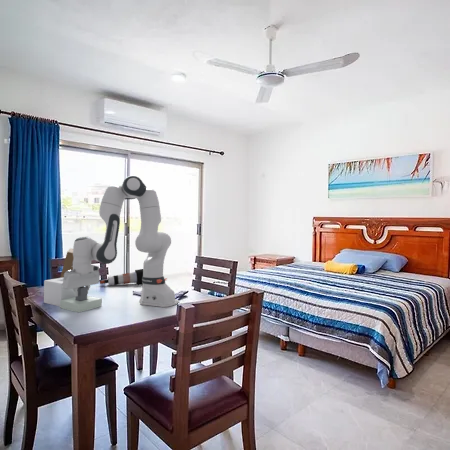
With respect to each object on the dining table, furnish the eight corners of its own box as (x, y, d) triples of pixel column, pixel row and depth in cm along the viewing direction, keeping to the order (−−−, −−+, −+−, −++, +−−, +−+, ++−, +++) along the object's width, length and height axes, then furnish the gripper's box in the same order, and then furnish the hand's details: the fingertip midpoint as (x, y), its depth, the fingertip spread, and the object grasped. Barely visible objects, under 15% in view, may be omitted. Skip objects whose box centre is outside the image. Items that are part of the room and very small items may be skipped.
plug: (87, 302, 176) (87, 283, 176) (80, 304, 172) (81, 284, 172) (81, 301, 178) (82, 282, 177) (75, 303, 174) (75, 283, 174)
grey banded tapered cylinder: (100, 291, 230) (99, 277, 234) (150, 283, 243) (148, 270, 247) (100, 287, 221) (99, 272, 225) (152, 279, 234) (150, 265, 238)
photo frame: (56, 293, 203) (56, 251, 202) (59, 286, 223) (60, 248, 223) (82, 292, 208) (83, 251, 207) (84, 285, 228) (85, 248, 228)
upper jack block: (83, 301, 187) (84, 279, 187) (61, 306, 175) (61, 283, 174) (66, 297, 194) (67, 276, 193) (43, 302, 181) (44, 280, 181)
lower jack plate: (101, 306, 178) (101, 298, 178) (79, 312, 165) (79, 304, 165) (83, 302, 184) (83, 295, 184) (60, 308, 172) (60, 300, 172)
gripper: (68, 271, 164) (68, 300, 164) (101, 266, 182) (101, 292, 182) (60, 270, 167) (59, 298, 167) (93, 265, 185) (93, 290, 185)
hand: (81, 295), depth 175 cm, fingers closed on plug, 4 cm apart
